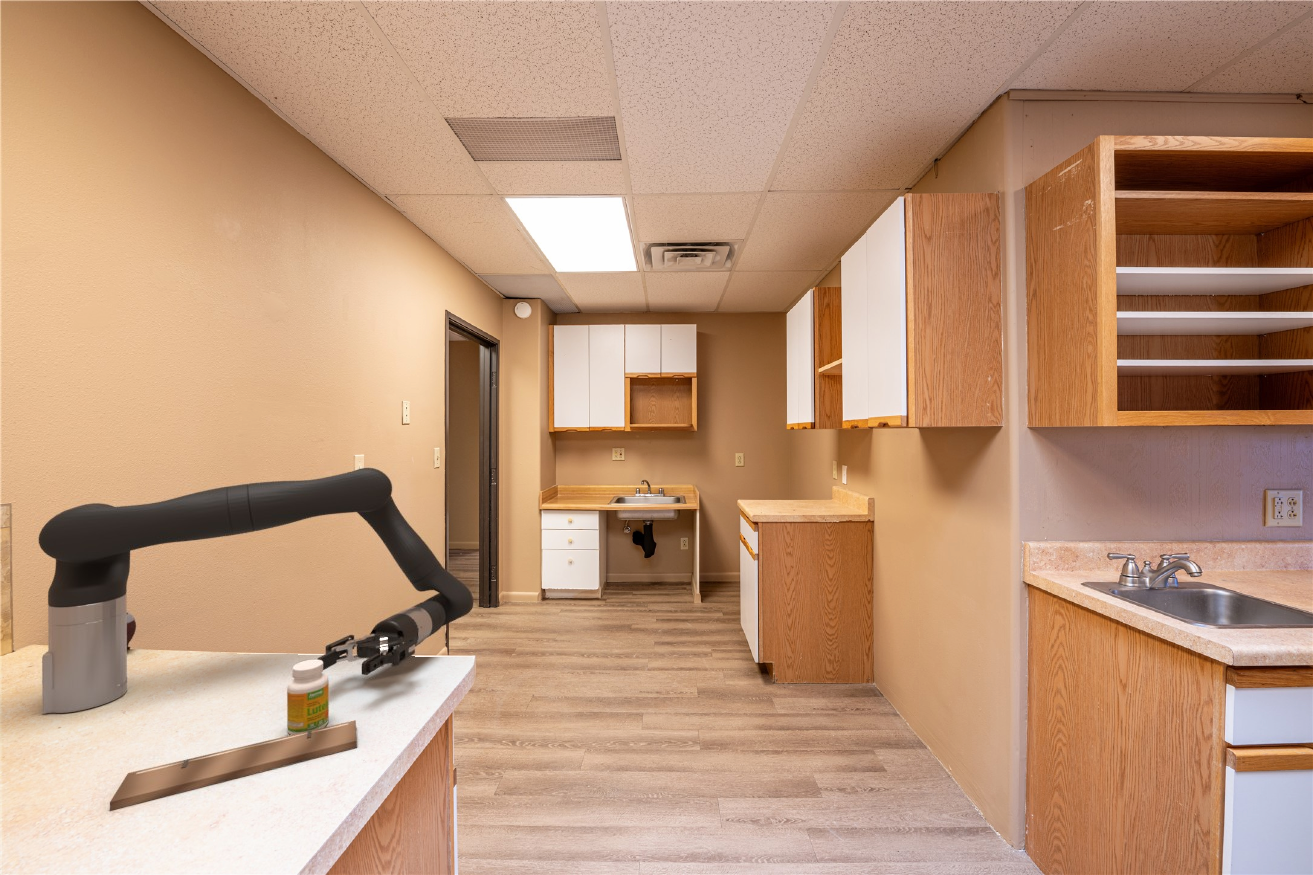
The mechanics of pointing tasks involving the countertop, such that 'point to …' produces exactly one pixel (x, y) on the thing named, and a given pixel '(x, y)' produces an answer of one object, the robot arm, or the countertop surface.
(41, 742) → the countertop surface
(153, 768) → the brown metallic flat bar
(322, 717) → the supplement bottle
